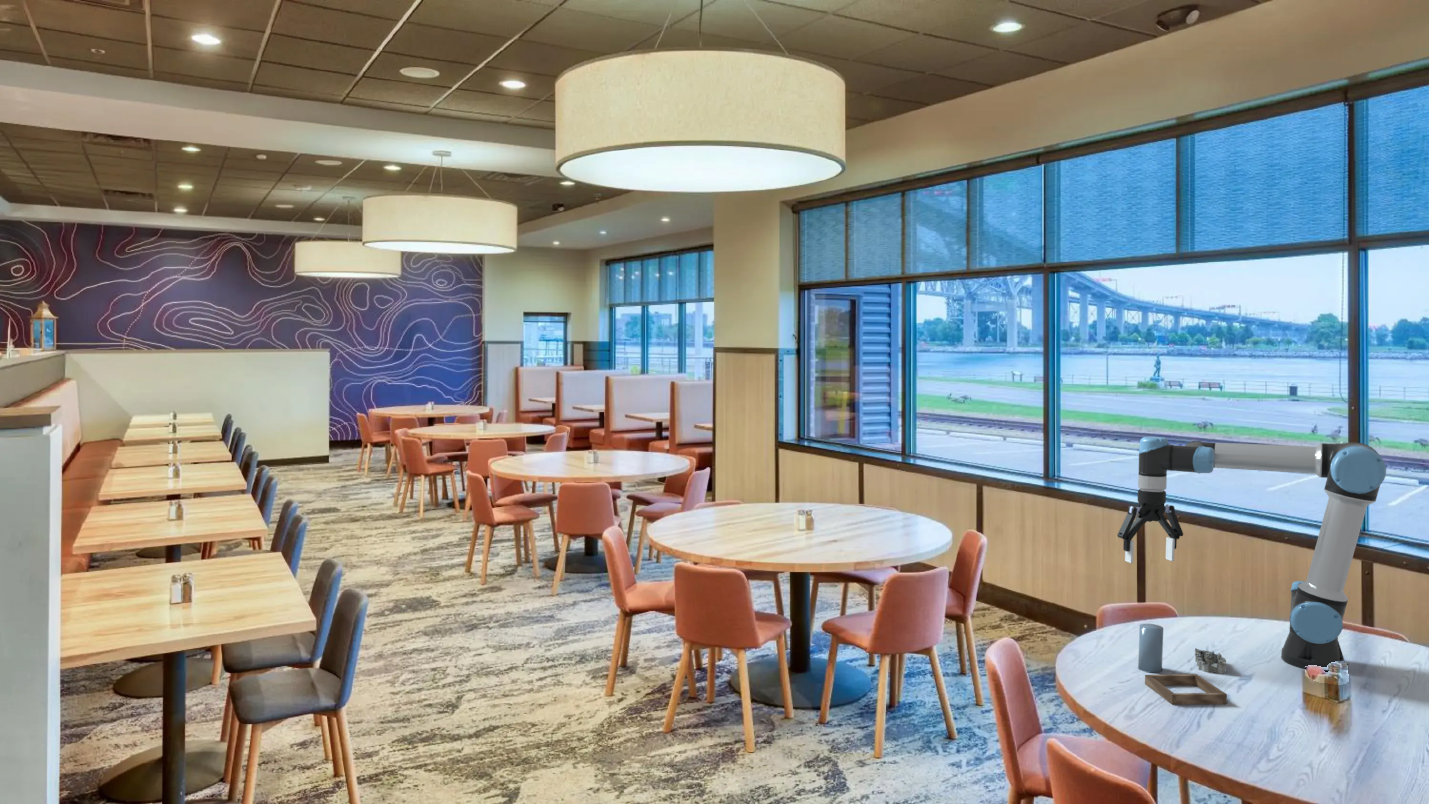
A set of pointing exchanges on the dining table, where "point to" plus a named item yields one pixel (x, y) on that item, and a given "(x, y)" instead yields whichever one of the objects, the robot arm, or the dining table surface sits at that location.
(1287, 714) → the dining table surface
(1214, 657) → the egg carton
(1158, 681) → the wooden square frame
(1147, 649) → the slate jar
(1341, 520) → the robot arm
